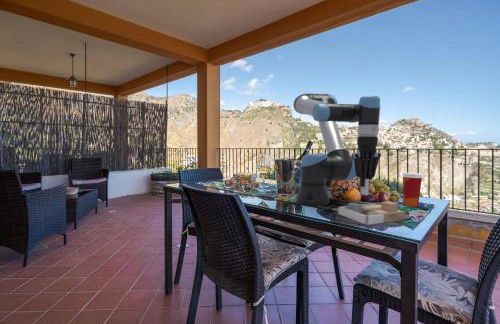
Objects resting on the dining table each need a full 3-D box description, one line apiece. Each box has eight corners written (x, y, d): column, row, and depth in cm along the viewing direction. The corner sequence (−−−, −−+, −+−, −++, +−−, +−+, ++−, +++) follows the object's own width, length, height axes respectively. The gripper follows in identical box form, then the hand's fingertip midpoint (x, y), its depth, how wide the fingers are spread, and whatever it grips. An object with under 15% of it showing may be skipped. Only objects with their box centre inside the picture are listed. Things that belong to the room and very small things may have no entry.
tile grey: (353, 212, 109) (347, 213, 108) (354, 202, 109) (348, 203, 108) (361, 214, 106) (355, 215, 105) (361, 204, 105) (355, 205, 104)
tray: (338, 213, 109) (338, 206, 109) (353, 212, 112) (354, 205, 112) (366, 225, 95) (366, 216, 95) (383, 222, 98) (383, 214, 98)
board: (353, 212, 112) (354, 205, 112) (374, 210, 116) (374, 203, 116) (383, 222, 98) (383, 214, 98) (405, 219, 102) (405, 212, 102)
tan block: (380, 209, 105) (381, 202, 105) (388, 208, 106) (388, 201, 106) (389, 212, 101) (389, 204, 101) (397, 211, 103) (397, 203, 102)
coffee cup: (407, 202, 131) (409, 172, 129) (424, 206, 123) (426, 174, 122) (396, 204, 127) (398, 173, 125) (413, 208, 119) (415, 175, 118)
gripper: (361, 135, 101) (357, 197, 103) (388, 136, 105) (384, 195, 108) (347, 135, 108) (344, 193, 110) (373, 136, 112) (369, 191, 115)
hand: (364, 194), depth 109 cm, fingers closed
